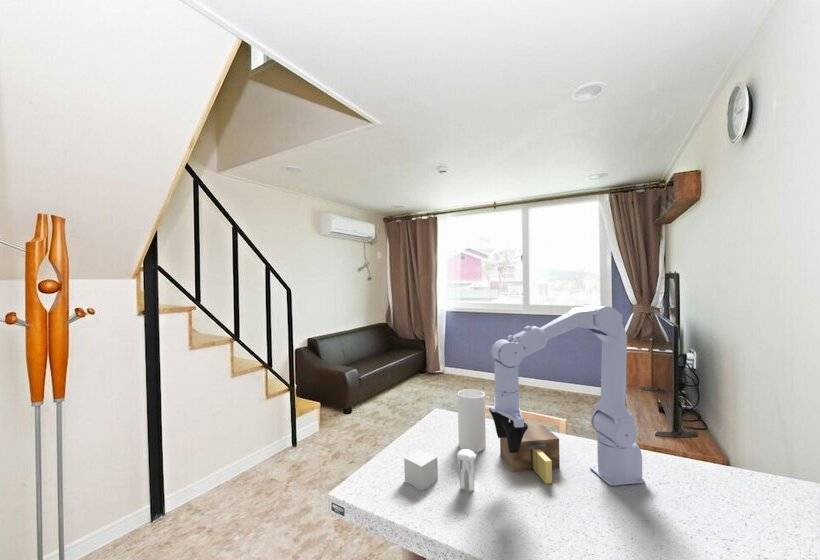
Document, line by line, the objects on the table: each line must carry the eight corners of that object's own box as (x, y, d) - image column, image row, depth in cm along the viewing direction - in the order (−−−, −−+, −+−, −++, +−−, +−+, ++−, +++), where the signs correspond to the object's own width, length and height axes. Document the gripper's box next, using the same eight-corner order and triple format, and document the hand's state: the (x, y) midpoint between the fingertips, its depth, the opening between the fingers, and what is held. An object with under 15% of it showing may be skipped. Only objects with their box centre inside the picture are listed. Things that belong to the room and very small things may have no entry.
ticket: (526, 454, 99) (526, 435, 99) (552, 483, 85) (551, 460, 85) (521, 454, 99) (520, 435, 99) (545, 483, 85) (545, 461, 85)
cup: (488, 451, 101) (487, 397, 101) (460, 452, 101) (459, 398, 101) (482, 438, 109) (481, 388, 109) (457, 439, 109) (456, 389, 109)
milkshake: (480, 495, 81) (479, 453, 81) (457, 493, 82) (456, 451, 82) (480, 484, 85) (479, 444, 85) (458, 482, 86) (457, 442, 86)
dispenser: (543, 451, 101) (542, 424, 101) (560, 469, 91) (560, 439, 91) (500, 454, 100) (499, 427, 100) (513, 472, 90) (513, 443, 90)
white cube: (422, 491, 83) (421, 466, 83) (404, 481, 87) (404, 458, 87) (438, 480, 88) (437, 456, 87) (420, 471, 92) (420, 449, 92)
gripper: (481, 381, 91) (482, 432, 92) (501, 400, 77) (503, 460, 77) (507, 380, 92) (508, 430, 92) (531, 398, 78) (533, 458, 78)
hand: (507, 444), depth 85 cm, fingers open, 7 cm apart
